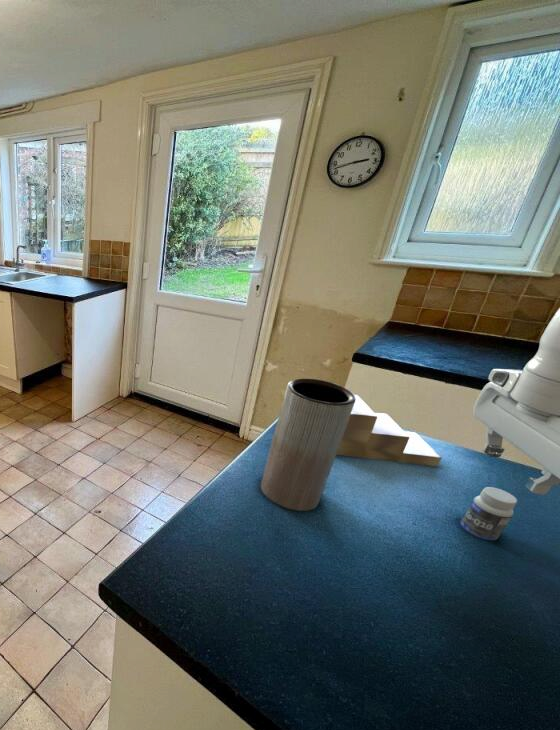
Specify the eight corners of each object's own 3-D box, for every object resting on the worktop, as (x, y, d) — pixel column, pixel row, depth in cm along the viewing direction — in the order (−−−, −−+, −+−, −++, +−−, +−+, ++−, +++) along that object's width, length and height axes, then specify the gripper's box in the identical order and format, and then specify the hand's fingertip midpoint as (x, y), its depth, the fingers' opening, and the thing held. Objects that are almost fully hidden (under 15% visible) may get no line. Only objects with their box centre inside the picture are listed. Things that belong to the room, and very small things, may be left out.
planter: (308, 483, 83) (342, 381, 73) (325, 517, 74) (367, 407, 65) (255, 475, 85) (281, 375, 76) (265, 508, 77) (296, 400, 67)
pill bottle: (452, 526, 73) (473, 488, 69) (470, 520, 74) (491, 482, 70) (484, 546, 68) (508, 507, 65) (503, 539, 70) (528, 501, 66)
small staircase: (410, 443, 96) (429, 401, 91) (436, 469, 87) (458, 424, 82) (310, 432, 100) (323, 391, 96) (325, 455, 92) (340, 412, 87)
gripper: (663, 435, 50) (596, 521, 56) (530, 369, 68) (490, 440, 74) (597, 428, 51) (539, 513, 57) (484, 365, 69) (448, 435, 75)
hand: (511, 471), depth 66 cm, fingers open, 8 cm apart
